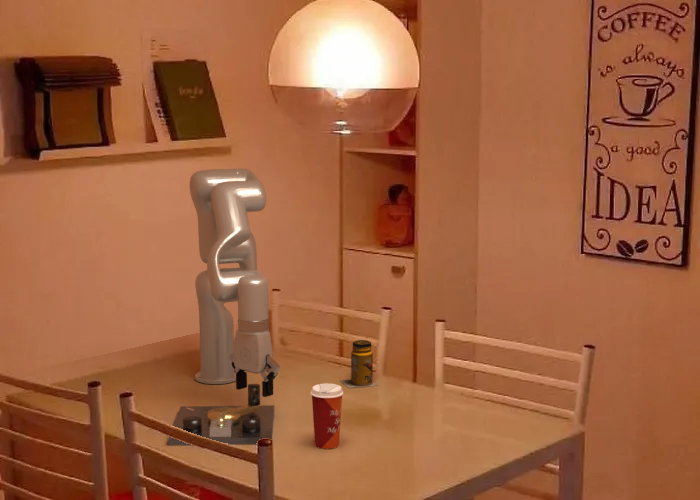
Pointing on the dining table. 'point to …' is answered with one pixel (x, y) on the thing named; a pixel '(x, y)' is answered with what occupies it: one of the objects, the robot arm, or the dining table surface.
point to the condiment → (361, 365)
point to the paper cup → (327, 414)
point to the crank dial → (237, 412)
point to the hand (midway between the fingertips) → (254, 392)
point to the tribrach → (225, 425)
